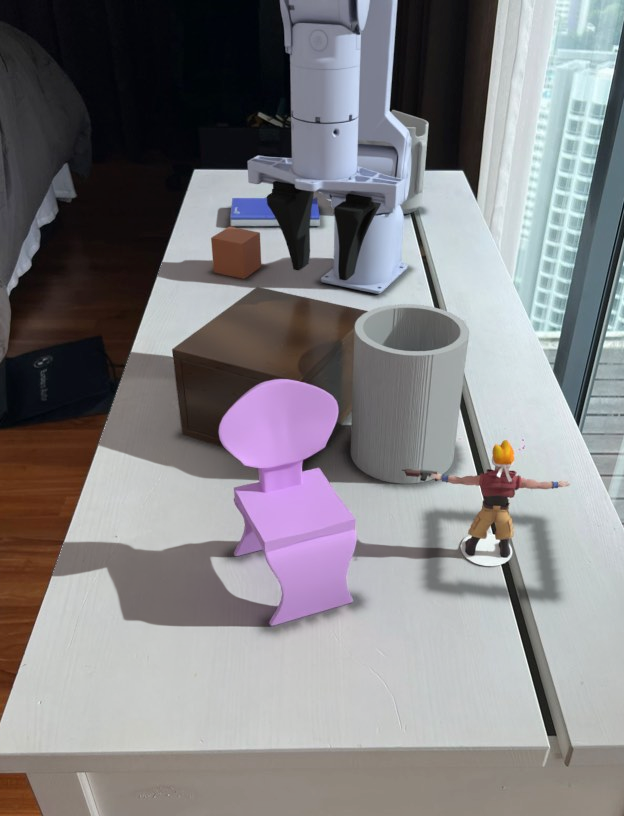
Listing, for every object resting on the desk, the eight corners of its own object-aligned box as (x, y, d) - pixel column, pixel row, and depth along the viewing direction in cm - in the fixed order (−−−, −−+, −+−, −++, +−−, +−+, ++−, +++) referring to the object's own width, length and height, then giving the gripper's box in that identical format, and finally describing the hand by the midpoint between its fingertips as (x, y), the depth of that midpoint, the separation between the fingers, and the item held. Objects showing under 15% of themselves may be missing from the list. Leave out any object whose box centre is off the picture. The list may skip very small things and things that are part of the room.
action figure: (395, 559, 64) (403, 456, 58) (396, 534, 66) (404, 433, 60) (554, 569, 63) (579, 466, 57) (550, 544, 66) (573, 443, 60)
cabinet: (260, 366, 87) (257, 286, 81) (368, 393, 83) (371, 311, 77) (181, 435, 76) (171, 349, 71) (300, 469, 73) (298, 381, 67)
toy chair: (259, 635, 57) (247, 452, 48) (220, 557, 64) (203, 381, 54) (369, 602, 60) (379, 423, 50) (322, 531, 66) (323, 358, 57)
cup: (335, 437, 77) (337, 314, 69) (423, 418, 79) (434, 297, 72) (377, 493, 70) (384, 363, 63) (472, 469, 73) (490, 343, 65)
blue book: (230, 216, 116) (319, 216, 117) (232, 196, 122) (316, 196, 123) (230, 227, 117) (319, 227, 118) (232, 207, 123) (316, 207, 124)
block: (231, 260, 108) (229, 226, 105) (261, 267, 107) (260, 232, 104) (213, 272, 105) (210, 237, 102) (244, 279, 104) (242, 243, 101)
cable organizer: (379, 190, 131) (383, 106, 123) (433, 213, 123) (441, 124, 116) (345, 199, 127) (347, 112, 120) (399, 222, 120) (405, 132, 112)
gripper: (226, 114, 70) (236, 272, 79) (385, 138, 66) (377, 302, 75) (267, 97, 75) (272, 247, 84) (417, 118, 71) (406, 274, 80)
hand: (323, 271), depth 80 cm, fingers open, 4 cm apart
